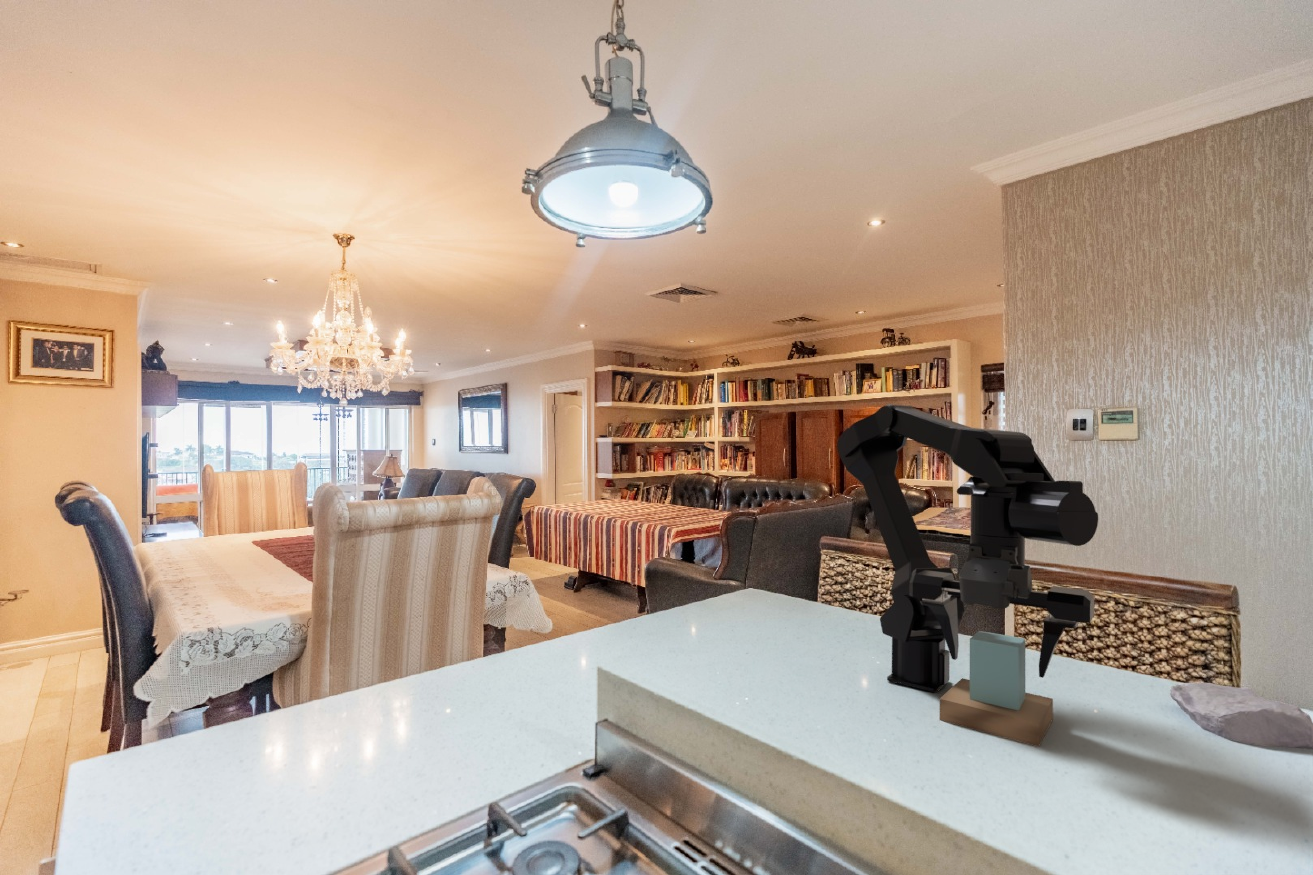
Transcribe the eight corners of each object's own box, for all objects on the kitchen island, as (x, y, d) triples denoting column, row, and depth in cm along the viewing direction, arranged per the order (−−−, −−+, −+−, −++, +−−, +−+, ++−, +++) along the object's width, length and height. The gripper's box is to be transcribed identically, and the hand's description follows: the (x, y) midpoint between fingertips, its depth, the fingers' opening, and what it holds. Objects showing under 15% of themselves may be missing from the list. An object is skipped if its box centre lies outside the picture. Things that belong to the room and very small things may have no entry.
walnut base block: (939, 724, 73) (939, 698, 73) (961, 701, 80) (962, 678, 80) (1038, 752, 66) (1038, 723, 66) (1052, 724, 74) (1052, 698, 74)
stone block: (1229, 761, 69) (1330, 751, 67) (1217, 716, 69) (1318, 705, 68) (1159, 721, 80) (1245, 712, 79) (1150, 683, 81) (1235, 673, 79)
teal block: (969, 699, 73) (969, 638, 73) (978, 688, 77) (979, 630, 77) (1018, 710, 70) (1018, 647, 70) (1025, 698, 74) (1025, 638, 74)
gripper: (895, 532, 74) (893, 665, 73) (1084, 549, 62) (1085, 707, 62) (923, 527, 83) (922, 645, 82) (1094, 541, 71) (1094, 680, 70)
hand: (996, 667), depth 74 cm, fingers open, 9 cm apart
